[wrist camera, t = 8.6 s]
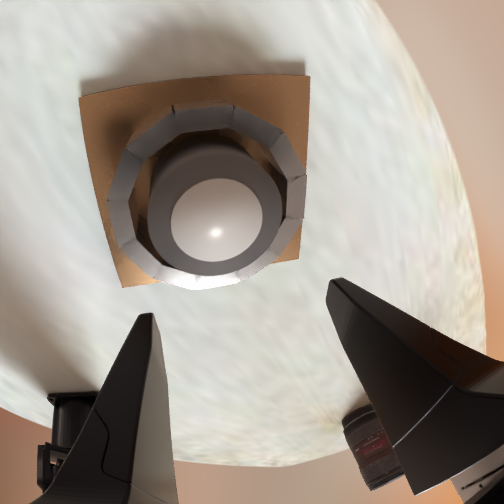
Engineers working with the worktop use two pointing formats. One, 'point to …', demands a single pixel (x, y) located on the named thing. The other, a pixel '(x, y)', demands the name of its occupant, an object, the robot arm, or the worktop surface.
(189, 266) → the gray tapered cylinder
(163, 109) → the ring mount
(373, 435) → the camera lens
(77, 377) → the worktop surface
